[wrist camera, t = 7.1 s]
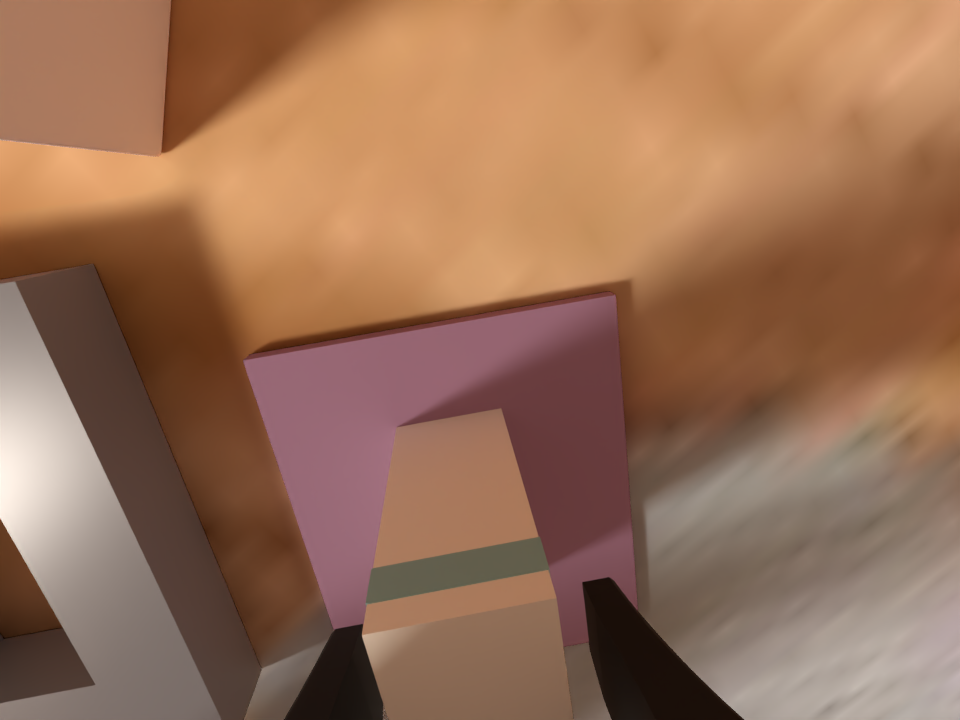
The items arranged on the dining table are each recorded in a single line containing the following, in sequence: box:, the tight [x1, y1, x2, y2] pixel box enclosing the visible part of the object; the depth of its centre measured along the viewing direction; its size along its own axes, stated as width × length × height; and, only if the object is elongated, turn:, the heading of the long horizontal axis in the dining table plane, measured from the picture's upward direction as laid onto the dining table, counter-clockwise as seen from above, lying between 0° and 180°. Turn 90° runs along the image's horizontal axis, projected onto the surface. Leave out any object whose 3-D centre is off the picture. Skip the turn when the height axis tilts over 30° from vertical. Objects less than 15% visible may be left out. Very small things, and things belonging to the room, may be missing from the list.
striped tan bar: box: [362, 408, 574, 720], centre depth 12 cm, size 6×3×7 cm, turn 9°
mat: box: [243, 291, 638, 647], centre depth 16 cm, size 12×10×1 cm
